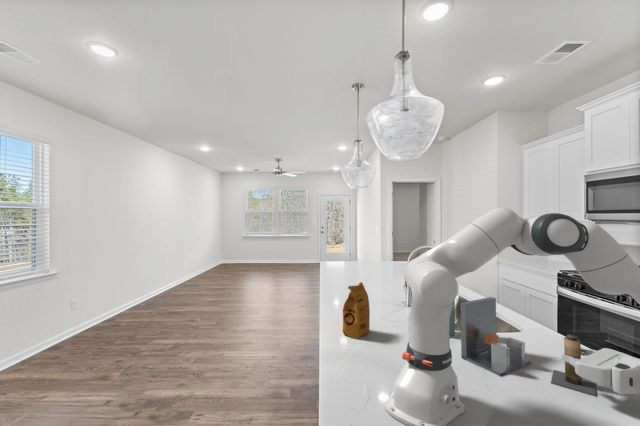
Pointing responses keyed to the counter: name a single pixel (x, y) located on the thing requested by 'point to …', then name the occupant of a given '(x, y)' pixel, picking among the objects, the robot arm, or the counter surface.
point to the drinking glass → (452, 322)
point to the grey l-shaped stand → (474, 326)
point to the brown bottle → (574, 350)
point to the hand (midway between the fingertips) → (570, 353)
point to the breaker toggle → (490, 340)
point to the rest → (585, 387)
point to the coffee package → (356, 312)
